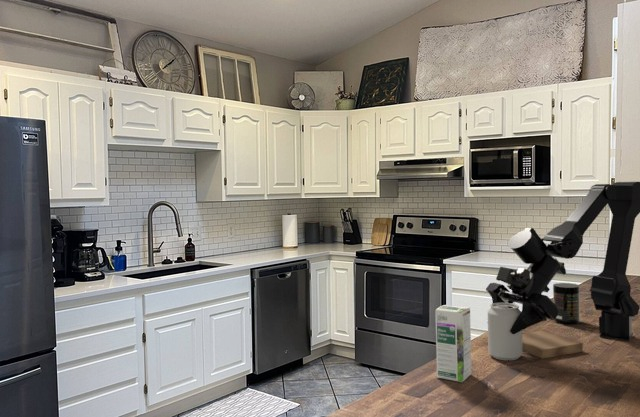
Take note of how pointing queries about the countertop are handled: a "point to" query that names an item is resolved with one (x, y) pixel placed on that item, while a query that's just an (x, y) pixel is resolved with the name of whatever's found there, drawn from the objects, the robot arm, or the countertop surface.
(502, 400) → the countertop surface
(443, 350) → the syrup box
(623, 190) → the robot arm
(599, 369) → the countertop surface
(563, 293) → the supplement container
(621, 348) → the countertop surface
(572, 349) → the tan board
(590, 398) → the countertop surface
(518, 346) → the can
